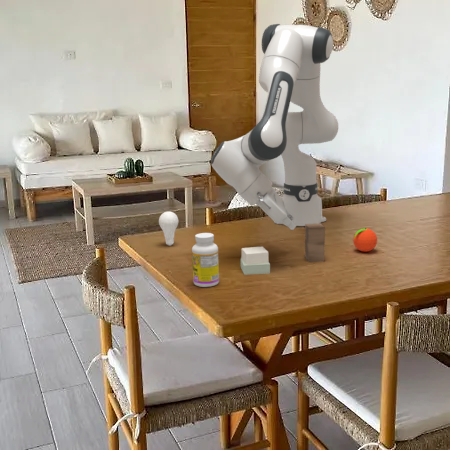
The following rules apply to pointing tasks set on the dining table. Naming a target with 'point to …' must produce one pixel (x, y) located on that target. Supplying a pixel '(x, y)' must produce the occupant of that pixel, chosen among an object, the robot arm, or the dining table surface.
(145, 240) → the dining table surface
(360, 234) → the clementine
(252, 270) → the tower base
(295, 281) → the dining table surface
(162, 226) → the lightbulb
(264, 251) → the tower cap
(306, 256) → the walnut post
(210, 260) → the supplement bottle
